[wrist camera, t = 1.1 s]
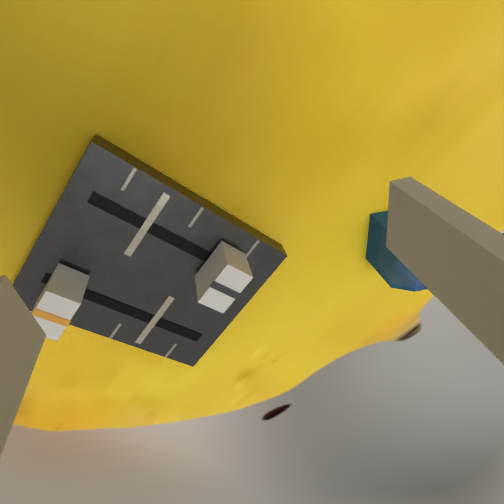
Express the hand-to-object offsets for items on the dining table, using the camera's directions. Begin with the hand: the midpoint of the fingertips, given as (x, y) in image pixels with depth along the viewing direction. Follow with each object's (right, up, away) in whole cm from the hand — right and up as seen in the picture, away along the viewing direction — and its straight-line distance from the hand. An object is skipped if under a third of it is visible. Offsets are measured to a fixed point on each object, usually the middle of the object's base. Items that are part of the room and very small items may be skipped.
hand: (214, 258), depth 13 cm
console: (-10, -1, +27) cm, 29 cm away
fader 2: (-2, -1, +26) cm, 26 cm away
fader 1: (-17, -3, +24) cm, 30 cm away
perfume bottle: (+18, +3, +32) cm, 37 cm away
